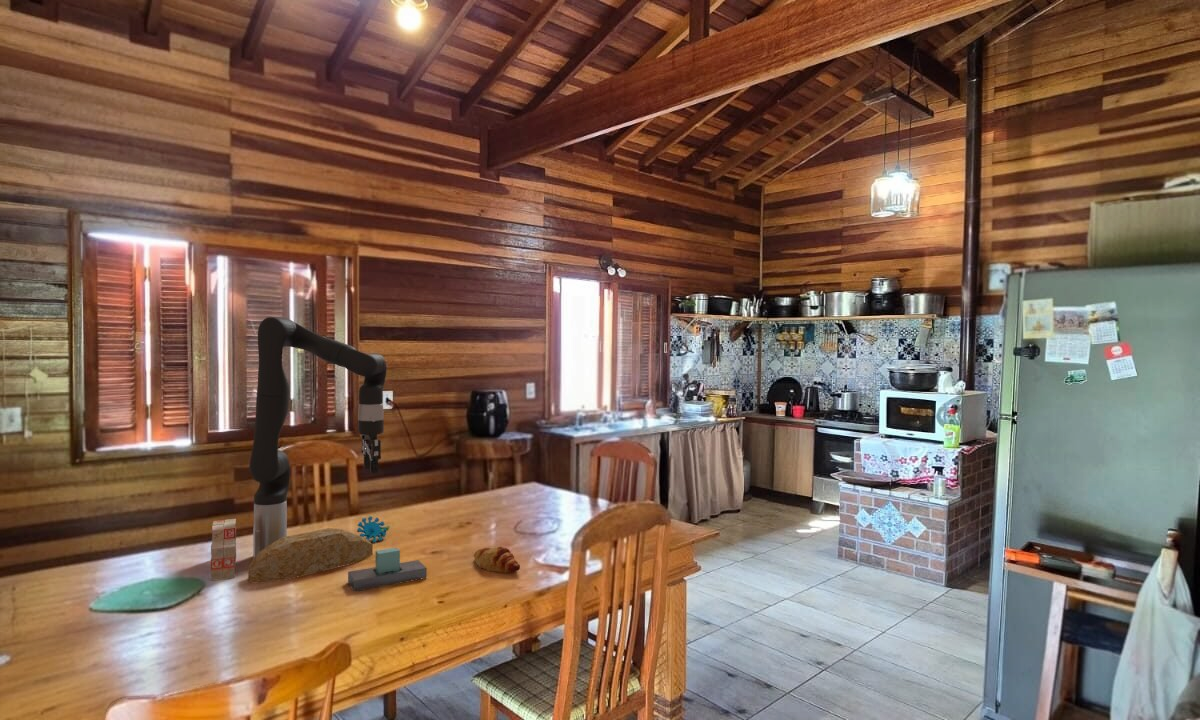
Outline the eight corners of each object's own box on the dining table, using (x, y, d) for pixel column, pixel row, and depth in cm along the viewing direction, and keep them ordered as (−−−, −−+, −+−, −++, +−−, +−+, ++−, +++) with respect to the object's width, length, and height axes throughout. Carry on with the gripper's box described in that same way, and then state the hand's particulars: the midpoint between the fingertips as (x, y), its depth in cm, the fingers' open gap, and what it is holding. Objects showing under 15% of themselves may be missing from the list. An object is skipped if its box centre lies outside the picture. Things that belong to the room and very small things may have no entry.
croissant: (467, 572, 208) (457, 552, 205) (490, 550, 214) (480, 531, 212) (512, 588, 194) (501, 567, 191) (534, 564, 200) (525, 544, 197)
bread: (257, 587, 185) (257, 551, 184) (243, 577, 192) (243, 543, 192) (378, 558, 211) (378, 526, 210) (361, 550, 218) (361, 520, 218)
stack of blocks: (235, 578, 191) (235, 535, 191) (210, 581, 188) (210, 538, 188) (236, 556, 210) (236, 517, 210) (213, 559, 207) (213, 520, 207)
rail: (354, 591, 182) (354, 580, 182) (348, 582, 189) (348, 571, 188) (426, 578, 192) (426, 567, 192) (418, 570, 199) (418, 560, 199)
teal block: (378, 582, 188) (378, 553, 187) (375, 578, 190) (375, 550, 190) (399, 578, 191) (399, 550, 191) (396, 574, 194) (396, 547, 193)
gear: (360, 541, 222) (356, 515, 228) (354, 550, 225) (351, 525, 231) (392, 540, 228) (388, 515, 234) (386, 549, 231) (382, 524, 237)
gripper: (353, 416, 210) (353, 467, 211) (363, 421, 198) (363, 475, 199) (377, 415, 214) (377, 465, 215) (389, 420, 202) (389, 473, 203)
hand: (370, 470), depth 207 cm, fingers open, 8 cm apart
